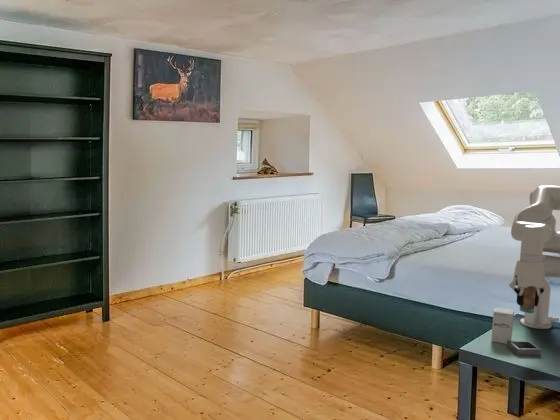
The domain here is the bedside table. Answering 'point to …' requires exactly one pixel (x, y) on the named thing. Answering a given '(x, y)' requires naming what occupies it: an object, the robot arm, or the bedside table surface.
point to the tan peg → (528, 300)
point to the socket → (524, 348)
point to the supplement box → (502, 325)
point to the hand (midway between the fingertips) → (527, 304)
